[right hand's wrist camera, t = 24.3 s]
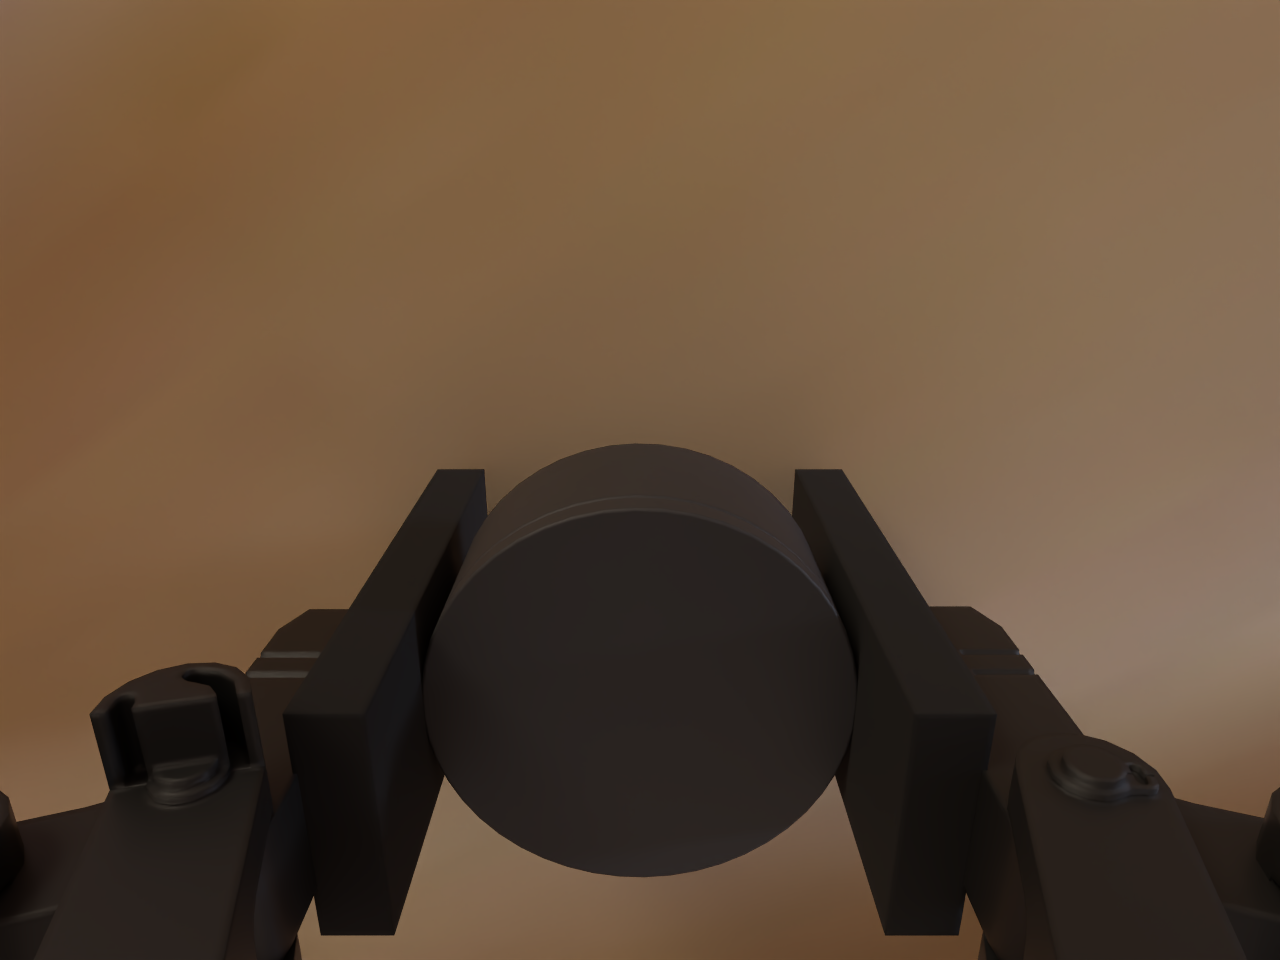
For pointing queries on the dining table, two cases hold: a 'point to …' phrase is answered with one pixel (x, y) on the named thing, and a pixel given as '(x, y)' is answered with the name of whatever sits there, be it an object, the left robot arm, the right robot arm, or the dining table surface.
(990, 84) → the dining table surface
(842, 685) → the lid
